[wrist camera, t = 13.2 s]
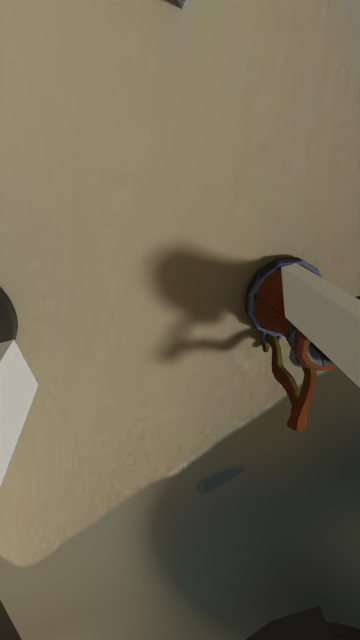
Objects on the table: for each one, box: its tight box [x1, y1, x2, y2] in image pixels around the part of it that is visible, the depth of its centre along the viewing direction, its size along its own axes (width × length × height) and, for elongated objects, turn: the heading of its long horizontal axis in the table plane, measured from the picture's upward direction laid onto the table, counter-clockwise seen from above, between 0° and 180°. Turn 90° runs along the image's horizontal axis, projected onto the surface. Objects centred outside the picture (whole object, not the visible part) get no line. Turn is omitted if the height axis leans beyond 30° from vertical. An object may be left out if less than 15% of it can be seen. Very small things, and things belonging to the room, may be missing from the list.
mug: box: [245, 257, 338, 431], centre depth 41 cm, size 18×12×15 cm, turn 167°
